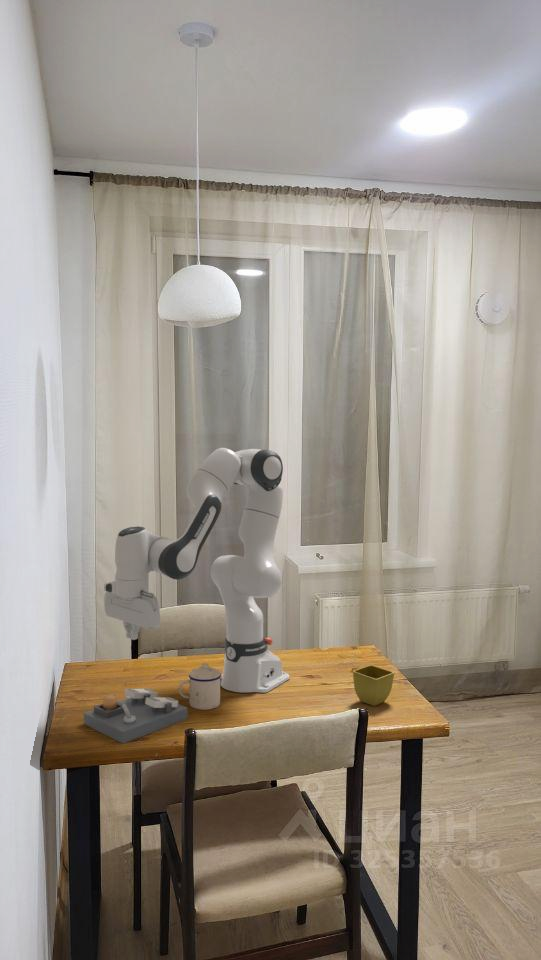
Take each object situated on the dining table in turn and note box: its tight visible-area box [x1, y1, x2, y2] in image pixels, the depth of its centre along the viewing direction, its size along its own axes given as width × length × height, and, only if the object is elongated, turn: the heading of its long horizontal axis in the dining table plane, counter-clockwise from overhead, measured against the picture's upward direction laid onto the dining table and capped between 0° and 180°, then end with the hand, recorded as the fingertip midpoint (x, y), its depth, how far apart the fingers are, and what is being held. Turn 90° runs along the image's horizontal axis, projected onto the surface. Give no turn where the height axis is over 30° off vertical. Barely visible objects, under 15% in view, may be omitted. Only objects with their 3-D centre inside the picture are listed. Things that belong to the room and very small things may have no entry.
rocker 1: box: [124, 688, 158, 699], centre depth 200 cm, size 8×4×2 cm, turn 138°
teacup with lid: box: [178, 662, 222, 711], centre depth 205 cm, size 12×9×12 cm
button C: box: [102, 694, 118, 709], centre depth 191 cm, size 4×4×2 cm
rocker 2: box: [145, 696, 179, 708], centre depth 194 cm, size 8×4×2 cm, turn 138°
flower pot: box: [352, 664, 395, 707], centre depth 209 cm, size 9×9×9 cm
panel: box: [83, 694, 188, 744], centre depth 193 cm, size 21×18×8 cm
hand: (132, 638), depth 196 cm, fingers closed
